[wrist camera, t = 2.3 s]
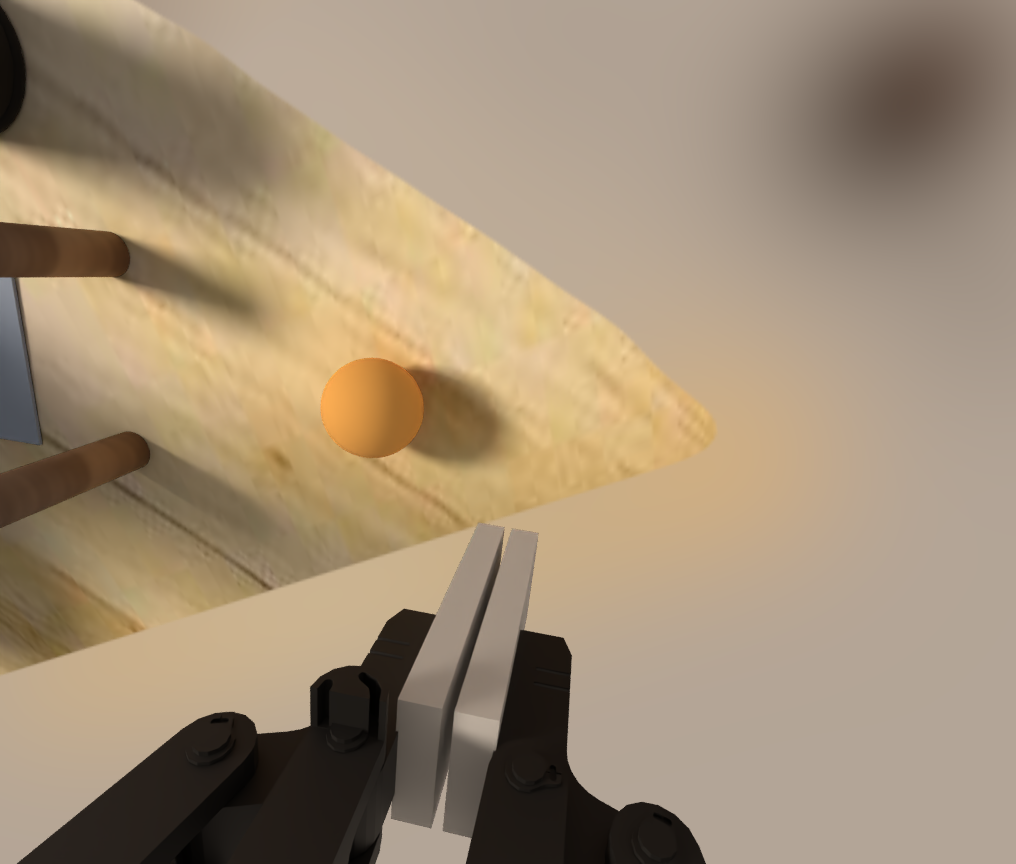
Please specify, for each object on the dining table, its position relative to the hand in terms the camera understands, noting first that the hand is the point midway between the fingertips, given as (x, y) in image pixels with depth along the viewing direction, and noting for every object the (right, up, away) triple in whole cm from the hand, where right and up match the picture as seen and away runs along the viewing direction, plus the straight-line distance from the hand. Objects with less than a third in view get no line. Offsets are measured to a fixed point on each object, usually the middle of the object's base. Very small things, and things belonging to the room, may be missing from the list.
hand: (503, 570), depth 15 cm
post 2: (-25, +3, +21) cm, 33 cm away
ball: (-7, +5, +14) cm, 17 cm away
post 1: (-24, +15, +17) cm, 33 cm away
